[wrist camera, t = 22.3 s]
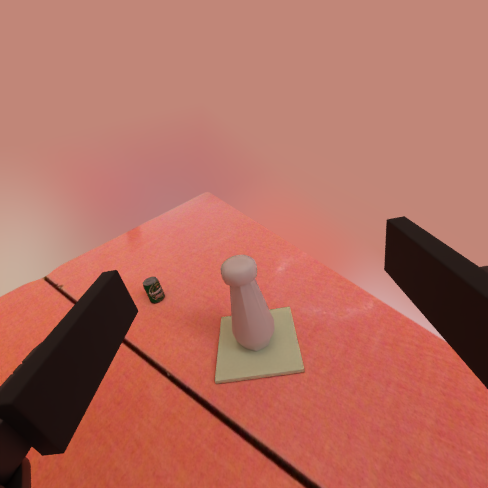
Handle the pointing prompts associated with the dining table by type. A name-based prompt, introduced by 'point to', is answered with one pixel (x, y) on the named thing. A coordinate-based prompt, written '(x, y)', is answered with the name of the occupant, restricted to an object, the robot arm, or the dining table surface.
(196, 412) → the dining table surface
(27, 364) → the robot arm
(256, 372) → the light mat
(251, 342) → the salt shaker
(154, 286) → the beer can
